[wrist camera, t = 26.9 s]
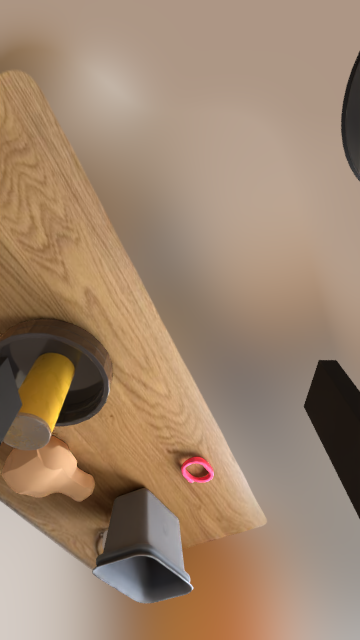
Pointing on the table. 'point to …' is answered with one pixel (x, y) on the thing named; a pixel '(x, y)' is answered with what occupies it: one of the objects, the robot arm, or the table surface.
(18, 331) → the pan
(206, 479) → the fitness band
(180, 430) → the table surface
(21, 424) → the corn can
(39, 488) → the squash
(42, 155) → the table surface
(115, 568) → the storage bin
